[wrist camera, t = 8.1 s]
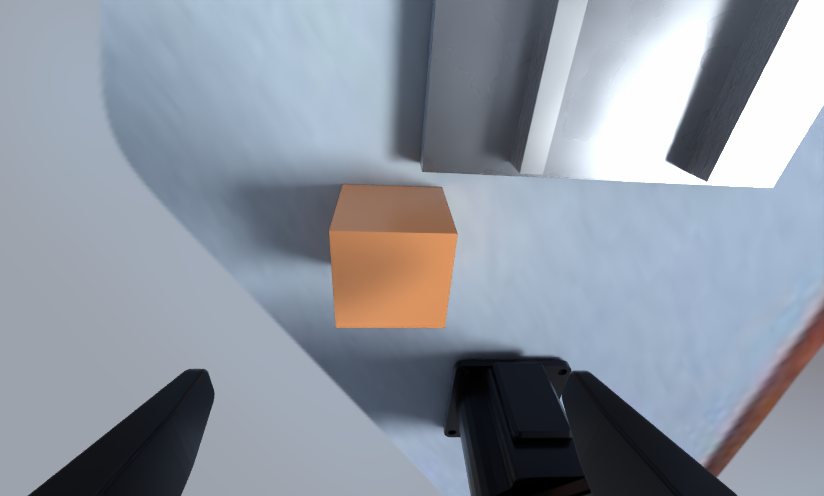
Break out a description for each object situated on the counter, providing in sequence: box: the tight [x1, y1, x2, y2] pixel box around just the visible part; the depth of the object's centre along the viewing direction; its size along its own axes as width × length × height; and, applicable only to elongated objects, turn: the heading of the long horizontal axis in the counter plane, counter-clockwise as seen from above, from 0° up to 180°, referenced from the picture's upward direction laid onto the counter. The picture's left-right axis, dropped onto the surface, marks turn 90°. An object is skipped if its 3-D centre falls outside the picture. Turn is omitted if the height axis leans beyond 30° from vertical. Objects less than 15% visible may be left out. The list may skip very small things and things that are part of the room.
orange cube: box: [329, 184, 458, 328], centre depth 14 cm, size 4×4×4 cm
